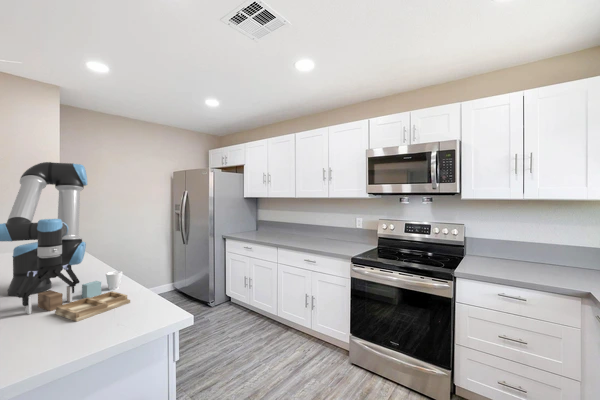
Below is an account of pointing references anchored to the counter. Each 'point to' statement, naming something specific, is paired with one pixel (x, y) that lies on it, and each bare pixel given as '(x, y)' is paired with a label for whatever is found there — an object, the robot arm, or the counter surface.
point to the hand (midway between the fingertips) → (50, 307)
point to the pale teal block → (91, 289)
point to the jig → (91, 306)
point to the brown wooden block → (49, 300)
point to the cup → (114, 279)
